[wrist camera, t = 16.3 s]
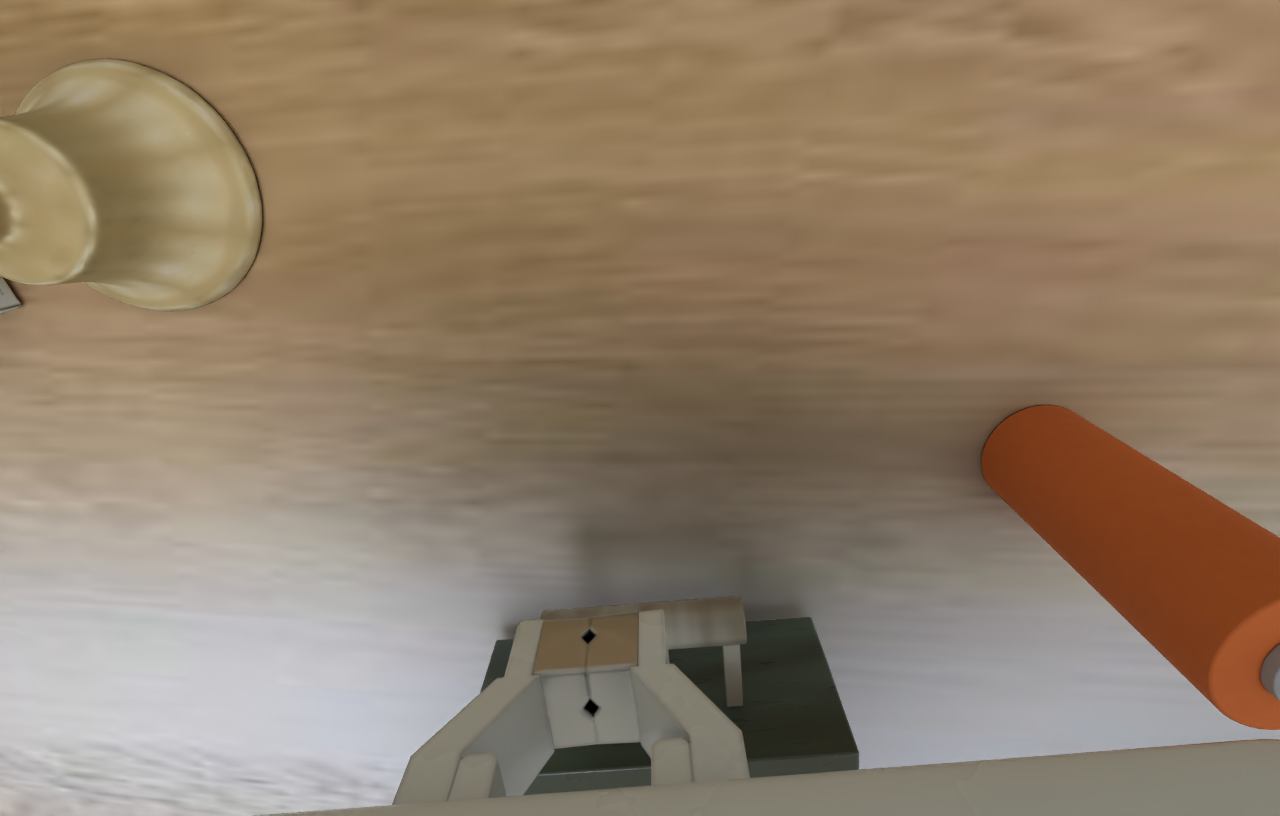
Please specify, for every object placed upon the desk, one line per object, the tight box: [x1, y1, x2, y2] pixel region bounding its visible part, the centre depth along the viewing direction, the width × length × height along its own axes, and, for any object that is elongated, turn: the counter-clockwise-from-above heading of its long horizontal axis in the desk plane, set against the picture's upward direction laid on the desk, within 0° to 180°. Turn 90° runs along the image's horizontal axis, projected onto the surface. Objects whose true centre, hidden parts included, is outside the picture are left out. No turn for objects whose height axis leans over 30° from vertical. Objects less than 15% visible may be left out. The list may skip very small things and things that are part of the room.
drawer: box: [480, 596, 859, 795], centre depth 27 cm, size 20×14×7 cm
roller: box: [982, 405, 1280, 730], centre depth 21 cm, size 4×4×12 cm
